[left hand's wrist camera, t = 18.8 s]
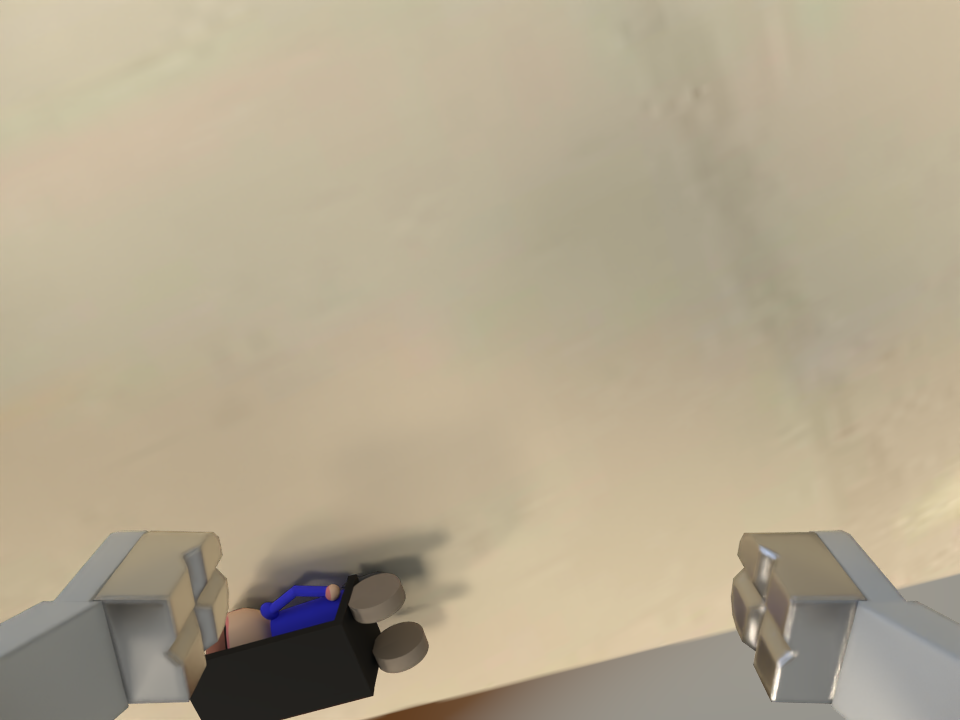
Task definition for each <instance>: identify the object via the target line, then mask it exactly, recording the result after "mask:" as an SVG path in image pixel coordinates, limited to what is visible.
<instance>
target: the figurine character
mask: <svg viewBox="0 0 960 720" xmlns="http://www.w3.org/2000/svg"><path fill="white" fill-rule="evenodd" d="M342 588H344V590H341V591H340V588H339V587H338V586H337V585H335V584H332V585H329V586H296V585H294V586H293V587H292V588H290V589H289V590H288V591H287V592H285V593H284V594H283V595H282V596H281V597H279V598H278V599H277V600H276V601H274V602H273V603H270V602H266V603H264V604H263V605H262V606H261V608H260V610H257V609H253V608H242V609H237V610H234V611H232V612H230V613H228V614H227V617H226V622H225V626H224V629H223V631H222V633H221V635H220V638H219V640H218V642H216V643H215V644H214V645H212V646H211V647H209V648H208V649H207V650H206V655H205V659H206V664H207V665H206V667H205V669H204V671H203V673H202V675H201V678H200V680H199V682H198V684H197V686H196V688H195V690H194V692H193V694H192V696H191V698H190V701H191V702H192V704H193V706H194V708H195V710H196V711H197V713H198V715H199V717H200V719H201V720H283V719H287V718H291V717H294V716H298V715H302V714H306V713H310V712H313V711H317V710H321V709H325V708H329V707H333V706H336V705H340V704H344V703H348V702H352V701H355V700H359V699H363V698H367V697H371V696H373V694H374V687H375V682H376V677H377V673H378V668H380V669H381V670H383V671H385V672H388V673H398V672H403V671H406V670H408V669H410V668H412V667H414V666H415V665H417V664H418V663H419V662H420V661H421V660H422V659H423V658H424V657H425V655H426V654H427V651H428V648H429V645H428V641H427V639H426V636H425V633H424V631H423V628H422V627H421V626H420V625H419V624H417V623H414V622H402V623H398V624H395V625H393V626H391V627H389V628H387V629H386V630H384V631H383V632H382V633H381V632H380V630H379V627H378V625H377V623H376V622H379V621H381V620H384V619H386V618H388V617H390V616H391V615H393V614H394V613H395V612H397V611H398V610H399V609H400V608H401V606H402V605H403V603H404V601H405V593H404V590H403V587H402V585H401V582H400V580H399V578H398V577H397V576H396V575H394V574H390V573H384V572H378V571H377V572H374V573H371V574H368V575H365V576H362V577H359V578H358V577H357V575H353V576H348V579H347V582H346V583H345V584H344V585H343V586H342ZM296 596H303V597H320V598H317V599H314V600H311V601H308V602H305V603H302V604H299V605H296V606H293V607H290V608H287V609H284V610H281V611H279V610H280V609H281V608H283V607H284V606H285V605H286V604H288V603H289V602H290V601H291V600H293V599H294V598H295V597H296Z"/></svg>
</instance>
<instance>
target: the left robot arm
mask: <svg viewBox="0 0 960 720" xmlns="http://www.w3.org/2000/svg"><path fill="white" fill-rule="evenodd" d="M222 555H223V554H222V549H221V545H220V540H219V537H218V536H217V535H216V534H215V533H214V532H184V531H150V532H149V531H117V532H114V533H111V534H110V535H109V536H108V537H107V538H106V539H105V541H104V542H103V543H102V544H101V545H100V547H99V548H98V549H97V550H96V551H95V552H94V554H93V555H92V556H91V557H90V558H89V560H88V561H87V562H86V563H85V564H84V566H83V567H82V568H81V569H80V570H79V571H78V573H77V574H76V575H75V576H74V577H73V579H72V580H71V581H70V582H69V583H68V584H67V586H66V587H65V588H64V589H63V590H62V592H61V593H60V594H59V595H58V596H57V598H56V599H55V600H54V601H42V602H41V603H39V604H37V605H35V606H33V607H31V608H29V609H27V610H25V611H23V612H22V613H20V614H18V615H16V616H14V617H12V618H10V619H8V620H6V621H4V622H2V623H1V624H0V720H114V719H115V718H116V717H118V716H119V715H120V714H121V713H122V712H123V711H124V710H126V709H127V708H128V704H136V703H170V702H189V700H190V698H191V696H192V694H193V692H194V690H195V688H196V686H197V684H198V682H199V680H200V678H201V675H202V673H203V671H204V669H205V667H206V665H207V664H206V659H205V654H204V651H205V650H207V649H208V648H209V647H211V646H212V645H214V644H215V643H216V642H218V640H219V638H220V635H221V633H222V631H223V629H224V626H225V622H226V617H227V612H228V608H229V590H228V584H227V578H226V577H225V576H224V575H223V574H222V573H221V572H220V571H219V570H218V569H217V568H216V566H217V564H218V563H219V561H220V559H221V557H222ZM737 555H738V557H739V559H740V561H741V563H742V564H743V566H744V568H743V569H742V570H741V571H740V572H739V573H738V574H737V575H736V576H735V577H734V578H733V585H732V593H731V603H732V615H733V618H734V622H735V626H736V629H737V631H738V633H739V635H740V638H741V640H742V642H744V643H745V644H746V645H748V646H749V647H751V648H752V649H753V650H755V651H756V654H755V659H754V664H753V665H754V667H755V669H756V671H757V673H758V675H759V677H760V680H761V682H762V684H763V686H764V688H765V690H766V692H767V694H768V696H769V698H770V700H771V702H788V703H825V704H832V706H831V707H832V708H834V709H835V710H836V711H837V712H838V713H839V714H840V715H842V716H843V717H844V718H845V719H846V720H960V624H959V623H957V622H955V621H954V620H952V619H950V618H948V617H946V616H944V615H942V614H940V613H938V612H936V611H935V610H933V609H931V608H929V607H927V606H925V605H923V604H921V603H919V602H917V601H906V600H905V599H904V598H903V596H902V595H901V594H900V593H899V592H898V590H897V589H896V588H895V587H894V586H893V585H892V583H891V582H890V581H889V580H888V579H887V577H886V576H885V575H884V574H883V573H882V572H881V570H880V569H879V568H878V567H877V566H876V564H875V563H874V562H873V561H872V560H871V559H870V557H869V556H868V555H867V554H866V553H865V551H864V550H863V549H862V548H861V547H860V545H859V544H858V543H857V542H856V541H855V540H854V538H853V537H852V536H851V535H850V534H849V533H847V532H845V531H843V530H835V531H809V532H780V533H744V534H743V536H742V538H741V540H740V543H739V549H738V554H737Z"/></svg>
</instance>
